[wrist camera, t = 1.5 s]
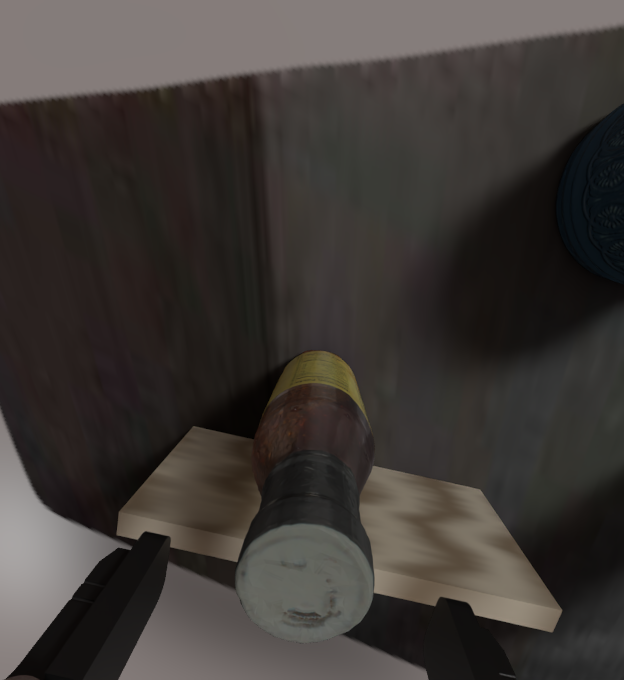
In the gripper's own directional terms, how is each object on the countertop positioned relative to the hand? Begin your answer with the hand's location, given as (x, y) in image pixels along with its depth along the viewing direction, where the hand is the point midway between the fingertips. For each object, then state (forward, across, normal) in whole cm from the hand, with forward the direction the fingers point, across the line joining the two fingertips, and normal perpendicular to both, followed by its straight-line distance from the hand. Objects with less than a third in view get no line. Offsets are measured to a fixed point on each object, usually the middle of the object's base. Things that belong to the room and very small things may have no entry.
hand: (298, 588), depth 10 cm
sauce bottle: (+20, 0, 0) cm, 20 cm away
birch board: (+19, -3, +8) cm, 21 cm away
